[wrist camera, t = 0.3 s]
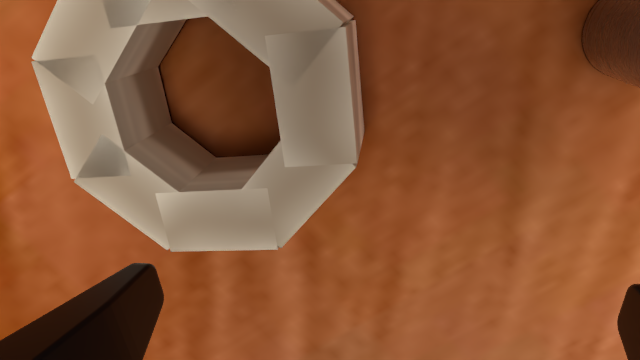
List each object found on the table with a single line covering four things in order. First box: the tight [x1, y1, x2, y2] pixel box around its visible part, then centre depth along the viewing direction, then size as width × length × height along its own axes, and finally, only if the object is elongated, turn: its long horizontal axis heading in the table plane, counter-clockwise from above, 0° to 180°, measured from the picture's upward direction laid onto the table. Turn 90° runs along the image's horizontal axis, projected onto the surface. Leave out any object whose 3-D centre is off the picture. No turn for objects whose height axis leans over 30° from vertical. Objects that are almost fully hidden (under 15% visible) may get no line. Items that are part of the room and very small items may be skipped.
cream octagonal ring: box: [31, 0, 364, 252], centre depth 20 cm, size 13×13×4 cm
